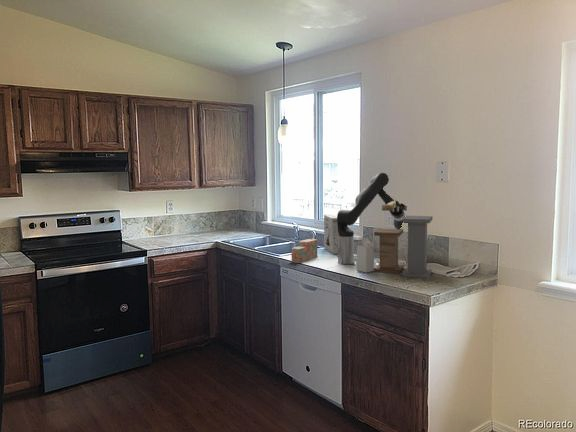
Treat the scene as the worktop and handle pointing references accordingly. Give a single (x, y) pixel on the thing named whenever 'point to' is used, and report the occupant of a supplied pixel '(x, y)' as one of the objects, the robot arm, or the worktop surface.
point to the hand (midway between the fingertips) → (393, 202)
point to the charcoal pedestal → (417, 246)
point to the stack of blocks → (304, 251)
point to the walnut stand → (388, 250)
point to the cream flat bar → (389, 206)
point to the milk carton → (365, 256)
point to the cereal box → (331, 233)
